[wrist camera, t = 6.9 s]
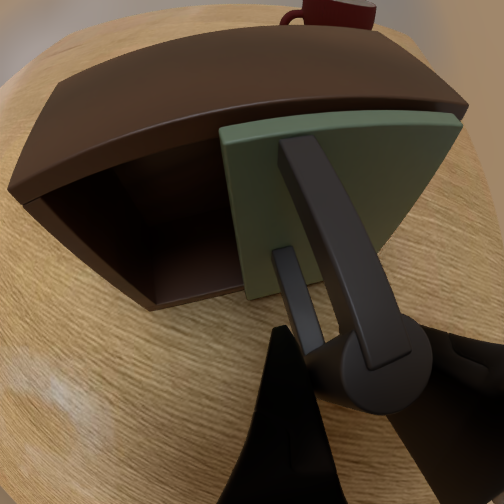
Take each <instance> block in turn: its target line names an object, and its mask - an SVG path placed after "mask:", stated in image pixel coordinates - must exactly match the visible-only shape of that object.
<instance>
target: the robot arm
mask: <svg viewBox="0 0 504 504" xmlns="http://www.w3.org/2000/svg"><path fill="white" fill-rule="evenodd" d="M419 325H420V324H419ZM420 326H421V327H422V328H423V330H424V331H425V333H426V335H427V337H428V339H429V342H430V345H431V349H432V356H433V363H432V371H431V375H430V378H429V381H428V383H427V386H426V388H425V389H424V391H423V393H422V394H421V395H420V396H419V398H418V399H417V400H416V401H415V402H414V403H413V404H411V405H410V406H409V407H407V408H406V409H404V410H402V411H400V412H398V413H395V414H391V415H386V417H387V418H388V420H389V421H390V423H391V424H392V426H393V428H394V429H395V431H396V432H397V434H398V435H399V437H400V439H401V440H402V442H403V443H404V445H405V446H406V448H407V450H408V451H409V453H410V454H411V456H412V458H413V459H414V461H415V462H416V464H417V466H418V467H419V469H420V471H421V472H422V474H423V475H424V477H425V479H426V481H427V482H428V484H429V486H430V487H431V489H432V491H433V492H434V494H435V496H436V497H437V499H438V501H439V502H440V504H487V503H488V502H490V501H491V500H492V501H493V503H494V504H504V345H502V344H496V343H490V342H485V341H480V340H475V339H471V338H467V337H463V336H459V335H455V334H452V333H449V334H448V333H447V332H444V331H441V330H437V329H434V328H430V327H427V326H423V325H420ZM339 333H340V334H341V330H340V327H339ZM216 504H348V503H347V501H346V498H345V496H344V493H343V490H342V487H341V484H340V481H339V478H338V475H337V470H336V467H335V463H334V460H333V456H332V452H331V449H330V445H329V442H328V438H327V435H326V431H325V428H324V424H323V421H322V417H321V414H320V411H319V407H318V404H317V400H316V397H315V394H314V390H313V387H312V383H311V380H310V377H309V373H308V370H307V367H306V364H305V360H304V357H303V354H302V351H301V348H300V346H299V344H298V342H297V341H296V339H295V338H294V336H293V334H292V333H291V331H290V330H289V328H288V326H287V325H282V326H278V327H274V328H273V329H272V332H271V337H270V342H269V347H268V351H267V356H266V360H265V365H264V369H263V374H262V378H261V383H260V387H259V391H258V396H257V400H256V404H255V408H254V412H253V416H252V420H251V424H250V427H249V431H248V434H247V437H246V441H245V443H244V446H243V448H242V451H241V453H240V456H239V458H238V460H237V462H236V465H235V467H234V469H233V471H232V473H231V475H230V477H229V479H228V482H227V484H226V486H225V488H224V490H223V492H222V494H221V496H220V498H219V500H218V502H217V503H216Z"/></svg>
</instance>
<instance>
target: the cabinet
mask: <svg viewBox="0 0 504 504" xmlns="http://www.w3.org/2000/svg"><path fill="white" fill-rule="evenodd" d="M468 107H469V104H468V103H467V102H466V101H465V100H464V99H463V98H462V97H461V96H460V95H459V94H458V93H457V92H456V91H455V90H454V89H452V88H451V87H450V86H449V85H448V84H447V83H446V82H445V81H444V80H443V79H441V78H440V77H439V76H438V75H437V74H436V73H434V72H433V71H432V70H431V69H430V68H428V67H427V66H426V65H425V64H423V63H422V62H421V61H420V60H418V59H417V58H416V57H414V56H413V55H412V54H410V53H409V52H408V51H406V50H405V49H403V48H402V47H401V46H399V45H398V44H396V43H395V42H393V41H392V40H390V39H389V38H387V37H386V36H384V35H383V34H381V33H379V32H378V31H371V30H364V29H356V28H347V27H336V26H318V25H276V26H258V27H247V28H237V29H229V30H222V31H215V32H209V33H204V34H198V35H193V36H188V37H184V38H179V39H175V40H171V41H167V42H163V43H159V44H156V45H152V46H149V47H145V48H142V49H139V50H136V51H133V52H130V53H127V54H124V55H121V56H118V57H116V58H113V59H110V60H108V61H105V62H103V63H100V64H98V65H95V66H93V67H91V68H88V69H86V70H84V71H82V72H80V73H77V74H75V75H73V76H71V77H69V78H67V79H65V80H63V81H61V82H59V83H58V84H57V86H56V87H55V89H54V91H53V92H52V94H51V95H50V97H49V99H48V101H47V102H46V104H45V106H44V107H43V109H42V111H41V113H40V115H39V117H38V118H37V120H36V122H35V124H34V126H33V128H32V130H31V132H30V134H29V136H28V138H27V141H26V143H25V145H24V147H23V149H22V152H21V154H20V156H19V159H18V161H17V164H16V166H15V169H14V171H13V174H12V177H11V179H10V182H9V185H8V188H7V190H8V192H9V193H10V194H11V195H12V196H13V197H14V198H15V199H16V200H17V201H18V202H19V203H20V204H21V205H23V208H24V209H25V210H26V211H27V212H28V213H29V214H30V215H31V216H32V217H33V218H34V219H35V220H36V221H37V222H39V223H40V224H41V225H42V226H43V227H44V228H45V229H46V230H47V231H48V232H49V233H50V234H51V235H53V236H54V237H55V238H56V239H57V240H58V241H59V242H60V243H62V244H63V245H64V246H65V247H66V248H67V249H68V250H70V251H71V252H72V253H73V254H74V255H76V256H77V257H78V258H79V259H80V260H81V261H83V262H84V263H85V264H86V265H88V266H89V267H90V268H91V269H93V270H94V271H95V272H96V273H98V274H99V275H100V276H101V277H103V278H104V279H105V280H107V281H108V282H109V283H111V284H112V285H113V286H114V287H116V288H117V289H119V290H120V291H121V292H123V293H124V294H125V295H127V296H128V297H129V298H131V299H132V300H134V301H135V302H136V303H138V304H139V305H141V306H142V307H144V308H145V309H147V310H148V311H154V310H159V309H163V308H168V307H172V306H177V305H181V304H186V303H190V302H195V301H199V300H203V299H208V298H212V297H216V296H220V295H224V294H229V293H233V292H237V291H241V290H245V289H244V283H243V278H242V272H241V266H240V260H239V255H238V249H237V243H236V237H235V231H234V225H233V219H232V213H231V207H230V201H229V195H228V189H227V183H226V177H225V170H224V164H223V158H222V151H221V145H220V139H219V132H218V131H219V128H221V127H225V126H230V125H236V124H241V123H246V122H252V121H258V120H265V119H271V118H279V117H286V116H294V115H303V114H313V113H325V112H340V111H361V110H408V111H429V112H443V113H452V114H454V115H455V116H456V118H457V119H458V120H459V121H460V120H462V119H463V117H464V115H465V113H466V111H467V109H468ZM460 122H461V121H460Z"/></svg>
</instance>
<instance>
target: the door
mask: <svg viewBox="0 0 504 504" xmlns="http://www.w3.org/2000/svg"><path fill="white" fill-rule="evenodd" d="M462 128H463V124H462V123H461V122H460V121H459V120H458V119H457V118H456V116H455V115H454V114H452V113H443V112H429V111H408V110H361V111H340V112H325V113H313V114H303V115H294V116H286V117H279V118H271V119H265V120H258V121H252V122H246V123H241V124H236V125H230V126H225V127H221V128H219V131H218V132H219V139H220V145H221V151H222V158H223V164H224V170H225V177H226V183H227V189H228V195H229V201H230V207H231V213H232V219H233V225H234V231H235V237H236V243H237V249H238V255H239V260H240V266H241V272H242V278H243V283H244V289H245V294H246V297H247V300H252V299H256V298H260V297H264V296H268V295H272V294H276V293H279V292H281V294H282V298H283V301H284V304H285V307H286V311H287V314H288V317H289V321H290V324H291V327H292V331H293V334H294V338H295V339H296V341H297V342H298V344H299V346H300V348H301V351H302V354H303V357H304V360H305V364H306V367H307V370H308V373H309V377H310V380H311V383H312V387H313V390H314V394H315V397H316V398H317V399H321V400H324V401H327V402H330V403H333V404H337V405H340V406H343V407H347V408H350V409H354V410H357V411H361V412H365V413H369V414H373V415H391V414H395V413H398V412H400V411H402V410H404V409H406V408H407V407H409V406H410V405H411V404H413V403H414V402H415V401H416V400H417V399H418V398H419V396H420V395H421V394H422V393H423V391H424V389H425V388H426V386H427V383H428V381H429V378H430V375H431V371H432V363H433V356H432V349H431V345H430V342H429V339H428V337H427V335H426V333H425V331H424V330H423V328H422V327H421V326H420V325H419V324H418V323H417V322H416V321H415V320H414V319H412V318H410V317H409V316H407V315H404V314H402V313H400V310H399V307H398V305H397V302H396V299H395V297H394V294H393V292H392V289H391V287H390V284H389V282H388V279H387V277H386V274H385V272H384V270H383V267H382V265H381V262H380V260H379V258H378V256H377V253H378V252H379V250H380V249H381V248H382V247H383V245H384V244H385V243H386V242H387V240H388V239H389V238H390V236H391V235H392V234H393V232H394V231H395V230H396V228H397V227H398V226H399V224H400V223H401V222H402V220H403V219H404V218H405V216H406V215H407V214H408V212H409V211H410V209H411V208H412V207H413V205H414V204H415V202H416V201H417V199H418V198H419V197H420V195H421V194H422V192H423V191H424V189H425V188H426V186H427V185H428V183H429V182H430V180H431V179H432V177H433V176H434V174H435V173H436V171H437V169H438V168H439V166H440V165H441V163H442V162H443V160H444V158H445V157H446V155H447V153H448V152H449V150H450V149H451V147H452V145H453V143H454V142H455V140H456V138H457V137H458V135H459V133H460V131H461V130H462ZM320 281H324V284H325V286H326V289H327V292H328V295H329V298H330V301H331V304H332V306H333V309H334V312H335V315H336V318H337V321H338V324H339V327H340V330H341V334H340V335H338V336H337V337H335V338H333V339H332V340H330V341H328V342H327V343H325V341H324V337H323V334H322V331H321V328H320V325H319V322H318V319H317V315H316V312H315V309H314V306H313V303H312V300H311V297H310V294H309V291H308V288H307V285H309V284H312V283H316V282H320Z"/></svg>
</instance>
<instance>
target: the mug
mask: <svg viewBox="0 0 504 504" xmlns="http://www.w3.org/2000/svg"><path fill="white" fill-rule="evenodd" d="M375 14H376V5H375V4H373V3H371V2H369V1H366V0H303V6H302V9H301V10H292V11H289V12H288V13H286V14H285V15H284V16H283V17H282V19H281V21H280V25H289V23H290V21H291V20H293V19H294V18H303V20H304V25H318V26H336V27H347V28H356V29H364V30H372V27H373V24H374V20H375Z"/></svg>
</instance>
